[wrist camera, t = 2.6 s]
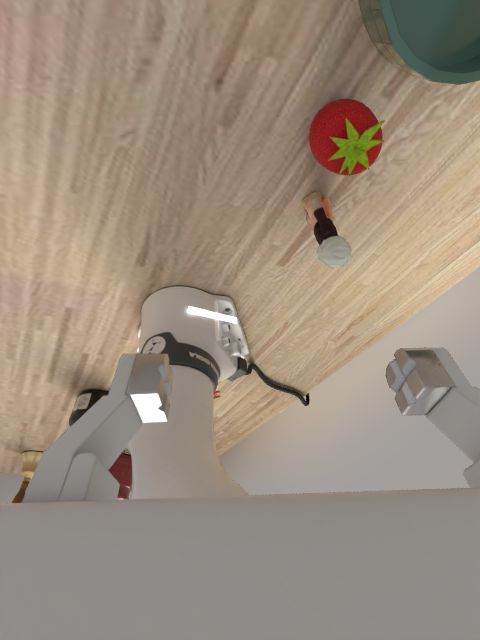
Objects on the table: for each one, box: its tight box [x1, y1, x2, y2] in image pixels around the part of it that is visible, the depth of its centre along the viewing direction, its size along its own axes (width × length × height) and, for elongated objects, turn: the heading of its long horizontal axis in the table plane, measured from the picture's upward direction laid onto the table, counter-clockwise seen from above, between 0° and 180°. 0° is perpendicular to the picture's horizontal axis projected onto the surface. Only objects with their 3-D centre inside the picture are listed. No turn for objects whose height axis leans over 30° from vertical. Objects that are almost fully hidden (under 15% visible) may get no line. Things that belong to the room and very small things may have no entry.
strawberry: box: [309, 99, 385, 176], centre depth 29 cm, size 6×8×10 cm
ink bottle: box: [69, 390, 109, 427], centre depth 66 cm, size 10×9×12 cm
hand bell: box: [12, 451, 43, 503], centre depth 87 cm, size 8×8×16 cm
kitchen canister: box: [108, 454, 132, 500], centre depth 91 cm, size 13×13×18 cm
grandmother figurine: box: [301, 191, 351, 268], centre depth 35 cm, size 8×4×13 cm, turn 34°
